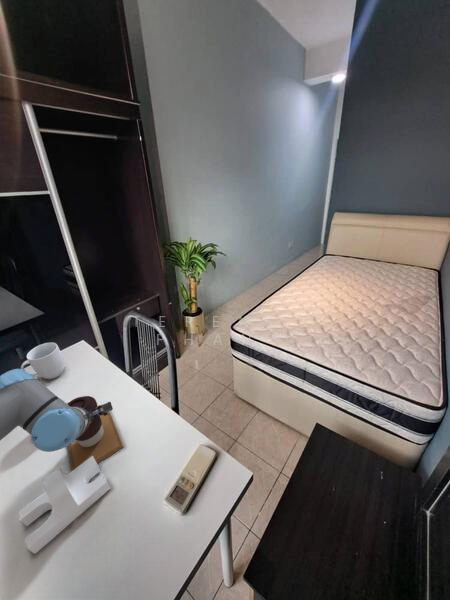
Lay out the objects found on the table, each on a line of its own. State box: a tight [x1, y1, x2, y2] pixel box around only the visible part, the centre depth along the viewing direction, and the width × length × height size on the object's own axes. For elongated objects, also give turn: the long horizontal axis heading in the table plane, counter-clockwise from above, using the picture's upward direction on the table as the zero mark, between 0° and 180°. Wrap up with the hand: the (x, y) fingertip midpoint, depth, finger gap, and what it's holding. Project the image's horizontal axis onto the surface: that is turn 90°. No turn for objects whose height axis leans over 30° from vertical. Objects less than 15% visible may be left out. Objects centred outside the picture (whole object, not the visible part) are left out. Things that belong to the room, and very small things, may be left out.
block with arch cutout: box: [18, 456, 111, 555], centre depth 62 cm, size 18×10×11 cm, turn 136°
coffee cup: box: [67, 395, 104, 447], centre depth 76 cm, size 10×10×15 cm
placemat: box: [67, 411, 124, 471], centre depth 80 cm, size 18×14×1 cm
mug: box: [20, 342, 65, 380], centre depth 104 cm, size 15×11×13 cm
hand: (85, 418), depth 79 cm, fingers closed on coffee cup, 10 cm apart
